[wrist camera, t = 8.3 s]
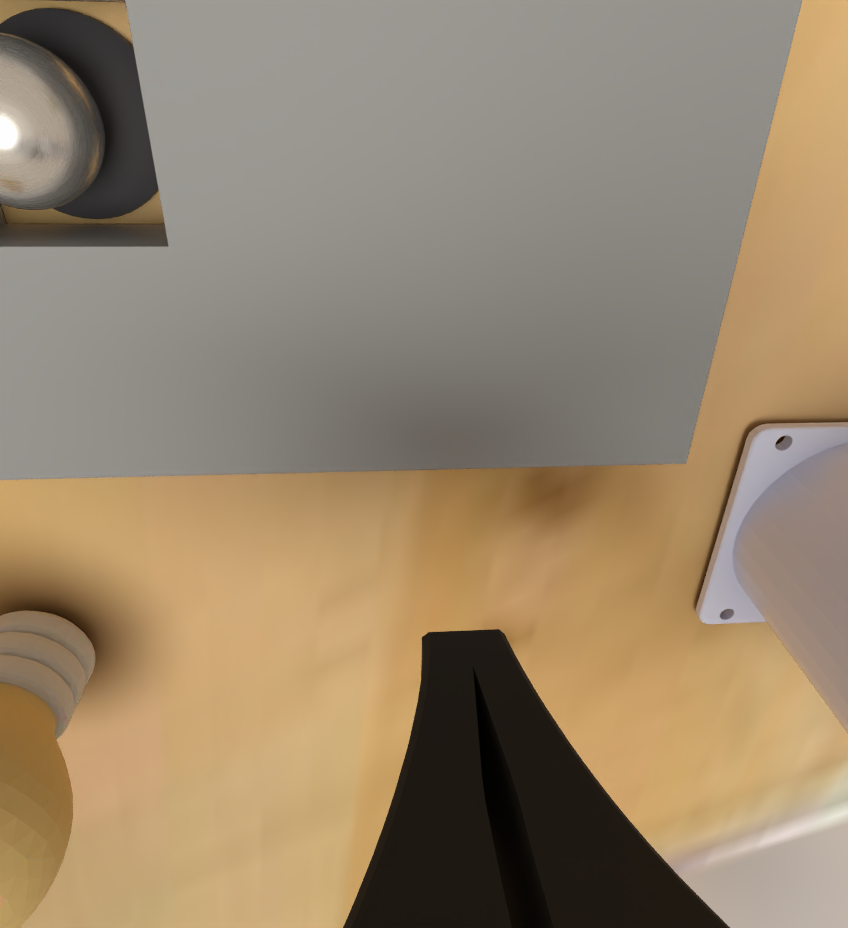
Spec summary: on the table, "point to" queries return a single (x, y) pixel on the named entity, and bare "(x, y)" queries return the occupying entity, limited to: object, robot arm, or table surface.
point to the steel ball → (45, 128)
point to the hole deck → (388, 235)
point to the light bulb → (36, 752)
